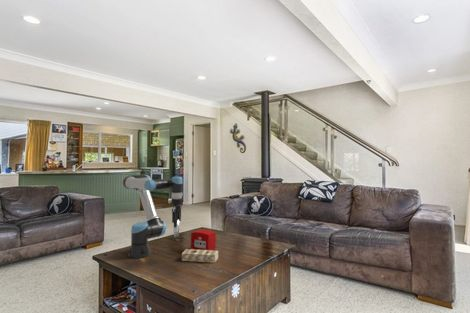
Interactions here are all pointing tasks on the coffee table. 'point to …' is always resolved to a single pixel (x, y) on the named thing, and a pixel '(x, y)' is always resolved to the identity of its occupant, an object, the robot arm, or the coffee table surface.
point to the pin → (176, 234)
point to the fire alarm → (203, 240)
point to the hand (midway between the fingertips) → (176, 230)
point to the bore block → (200, 255)
